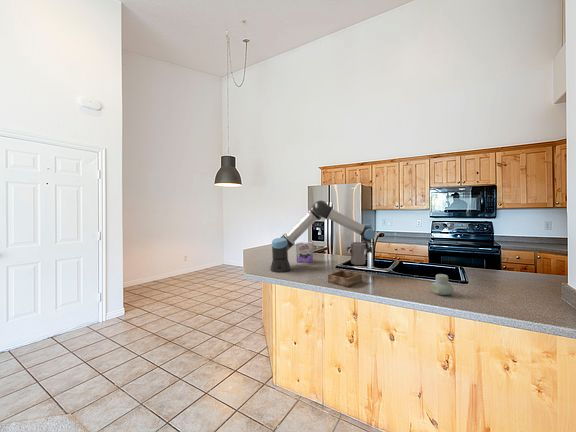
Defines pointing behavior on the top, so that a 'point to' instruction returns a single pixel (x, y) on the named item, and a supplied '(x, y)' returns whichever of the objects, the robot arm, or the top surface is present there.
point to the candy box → (304, 251)
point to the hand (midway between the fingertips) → (356, 252)
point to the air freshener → (442, 285)
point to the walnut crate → (345, 278)
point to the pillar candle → (358, 253)
